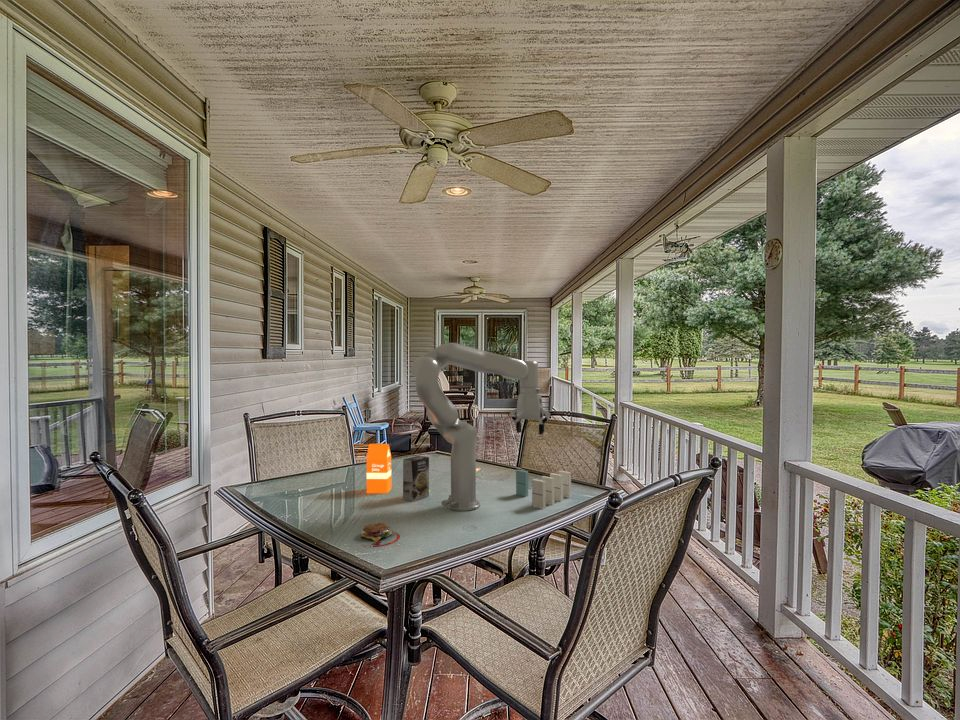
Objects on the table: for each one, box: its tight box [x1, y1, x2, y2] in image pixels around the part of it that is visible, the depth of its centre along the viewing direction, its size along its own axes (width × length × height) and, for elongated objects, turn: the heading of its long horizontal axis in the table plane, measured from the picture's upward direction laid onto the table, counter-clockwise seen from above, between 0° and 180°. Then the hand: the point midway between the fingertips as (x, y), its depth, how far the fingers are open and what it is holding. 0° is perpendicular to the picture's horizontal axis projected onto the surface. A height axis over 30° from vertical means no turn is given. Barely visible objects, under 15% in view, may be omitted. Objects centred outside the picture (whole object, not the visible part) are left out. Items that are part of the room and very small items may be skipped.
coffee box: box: [402, 455, 430, 502], centre depth 182 cm, size 9×6×16 cm
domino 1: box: [515, 469, 529, 497], centre depth 184 cm, size 2×5×10 cm, turn 47°
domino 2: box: [531, 478, 547, 510], centre depth 169 cm, size 2×5×10 cm, turn 47°
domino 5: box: [558, 470, 572, 499], centre depth 182 cm, size 2×5×10 cm, turn 47°
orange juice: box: [366, 443, 392, 494], centre depth 193 cm, size 8×9×20 cm
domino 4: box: [549, 472, 564, 502], centre depth 178 cm, size 2×5×10 cm, turn 47°
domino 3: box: [540, 475, 556, 506], centre depth 173 cm, size 2×5×10 cm, turn 47°
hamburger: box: [360, 522, 401, 548], centre depth 140 cm, size 14×14×6 cm
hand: (530, 433), depth 183 cm, fingers open, 9 cm apart
